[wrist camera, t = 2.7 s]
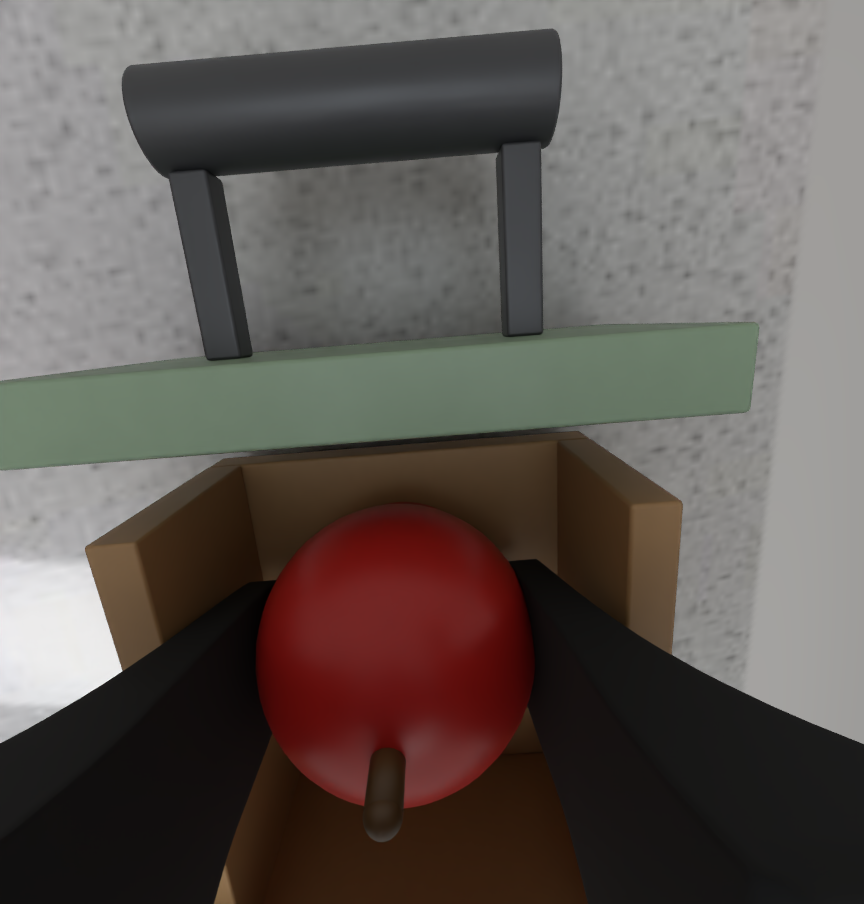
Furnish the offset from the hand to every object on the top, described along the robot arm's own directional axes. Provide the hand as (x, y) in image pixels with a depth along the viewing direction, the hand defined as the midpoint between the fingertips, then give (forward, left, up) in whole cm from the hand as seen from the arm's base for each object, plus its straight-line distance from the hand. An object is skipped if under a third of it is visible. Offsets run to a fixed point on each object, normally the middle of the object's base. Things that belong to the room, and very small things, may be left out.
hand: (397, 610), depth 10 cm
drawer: (0, -1, -3) cm, 3 cm away
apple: (0, 0, -2) cm, 2 cm away
